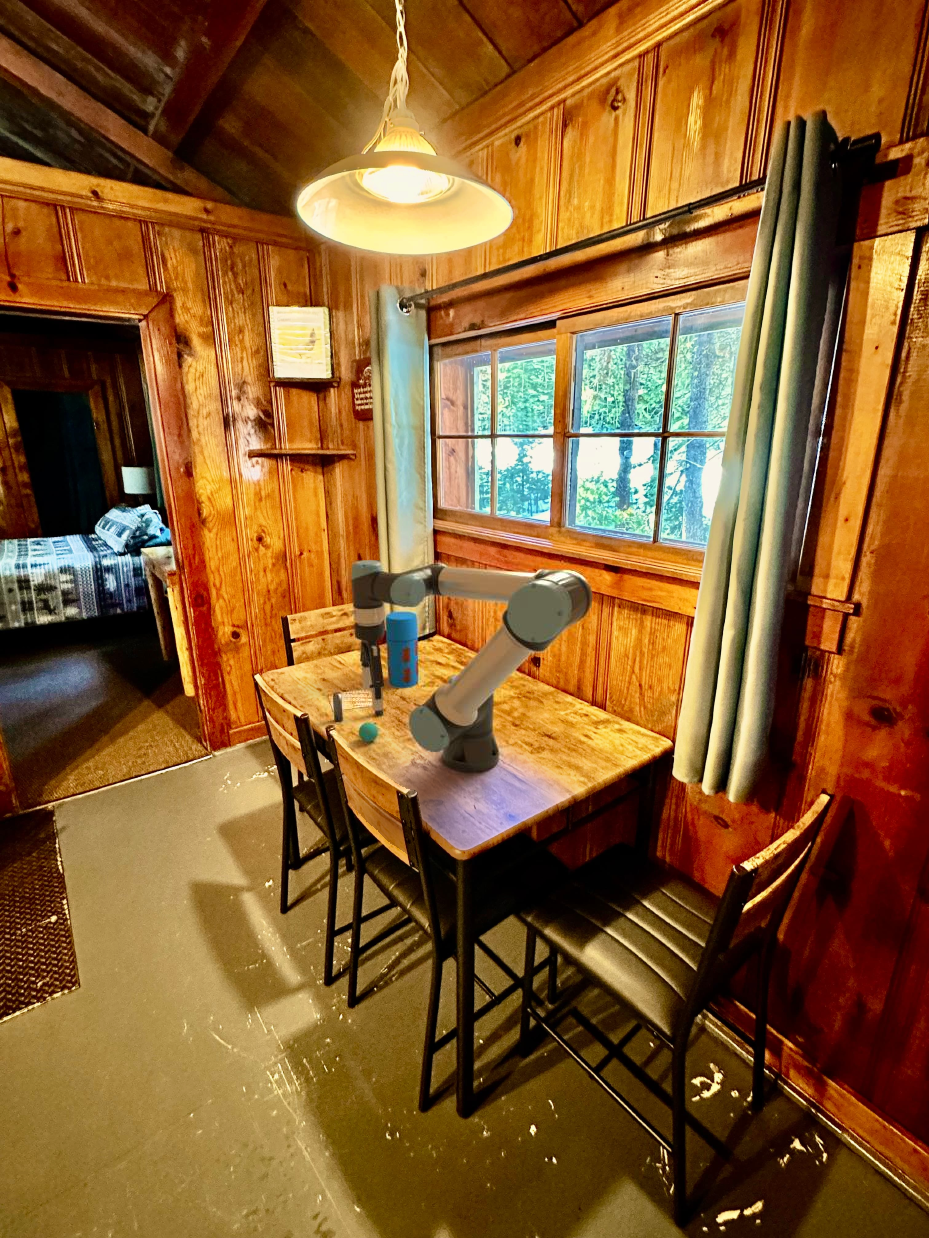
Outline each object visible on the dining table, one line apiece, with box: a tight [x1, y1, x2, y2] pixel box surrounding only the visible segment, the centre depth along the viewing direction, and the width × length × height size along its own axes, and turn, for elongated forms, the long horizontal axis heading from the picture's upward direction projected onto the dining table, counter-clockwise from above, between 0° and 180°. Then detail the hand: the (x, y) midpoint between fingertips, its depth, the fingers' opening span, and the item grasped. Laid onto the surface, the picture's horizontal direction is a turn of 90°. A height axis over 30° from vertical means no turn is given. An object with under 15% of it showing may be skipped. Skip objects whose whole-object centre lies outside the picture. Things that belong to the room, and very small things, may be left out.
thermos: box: [385, 611, 419, 689], centre depth 202 cm, size 11×11×25 cm
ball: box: [358, 722, 379, 743], centre depth 163 cm, size 6×6×6 cm
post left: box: [331, 691, 344, 723], centre depth 175 cm, size 3×3×9 cm
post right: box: [374, 710, 384, 717], centre depth 179 cm, size 3×3×9 cm
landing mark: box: [328, 689, 372, 713], centre depth 191 cm, size 14×14×1 cm
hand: (372, 699), depth 151 cm, fingers open, 13 cm apart
